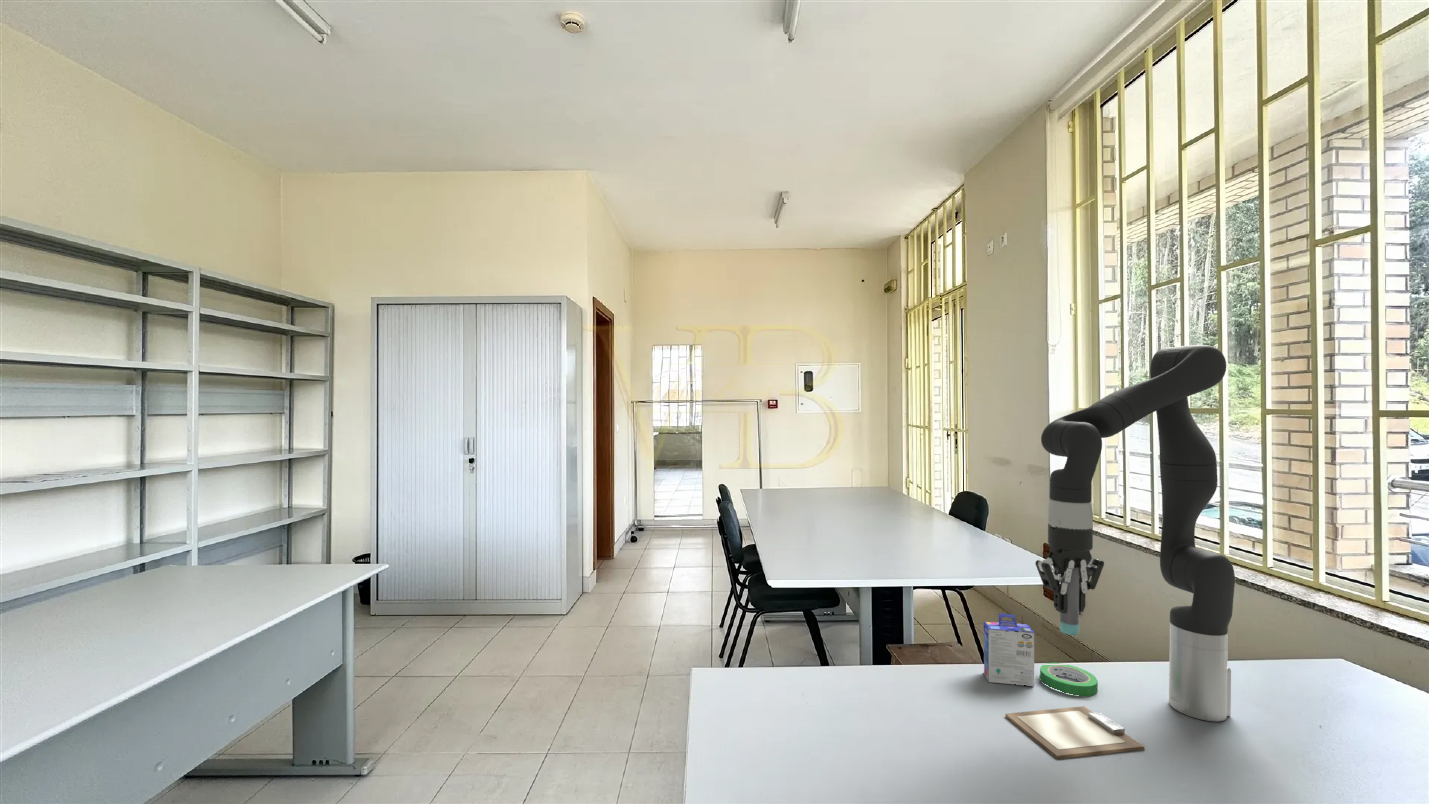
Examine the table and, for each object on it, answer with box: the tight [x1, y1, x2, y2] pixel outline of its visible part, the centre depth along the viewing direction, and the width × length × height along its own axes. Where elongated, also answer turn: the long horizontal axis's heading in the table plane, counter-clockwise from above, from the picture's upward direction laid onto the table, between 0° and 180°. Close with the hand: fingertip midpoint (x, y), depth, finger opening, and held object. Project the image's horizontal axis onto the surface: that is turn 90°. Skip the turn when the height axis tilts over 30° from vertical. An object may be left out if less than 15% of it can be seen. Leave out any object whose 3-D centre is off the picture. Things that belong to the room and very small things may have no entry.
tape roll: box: [1039, 662, 1099, 697], centre depth 131 cm, size 11×11×3 cm
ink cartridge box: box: [983, 612, 1035, 687], centre depth 133 cm, size 10×6×14 cm, turn 78°
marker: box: [1059, 567, 1080, 636], centre depth 114 cm, size 3×3×13 cm
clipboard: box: [1004, 705, 1145, 760], centre depth 112 cm, size 18×14×2 cm
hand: (1069, 610), depth 114 cm, fingers closed on marker, 3 cm apart
